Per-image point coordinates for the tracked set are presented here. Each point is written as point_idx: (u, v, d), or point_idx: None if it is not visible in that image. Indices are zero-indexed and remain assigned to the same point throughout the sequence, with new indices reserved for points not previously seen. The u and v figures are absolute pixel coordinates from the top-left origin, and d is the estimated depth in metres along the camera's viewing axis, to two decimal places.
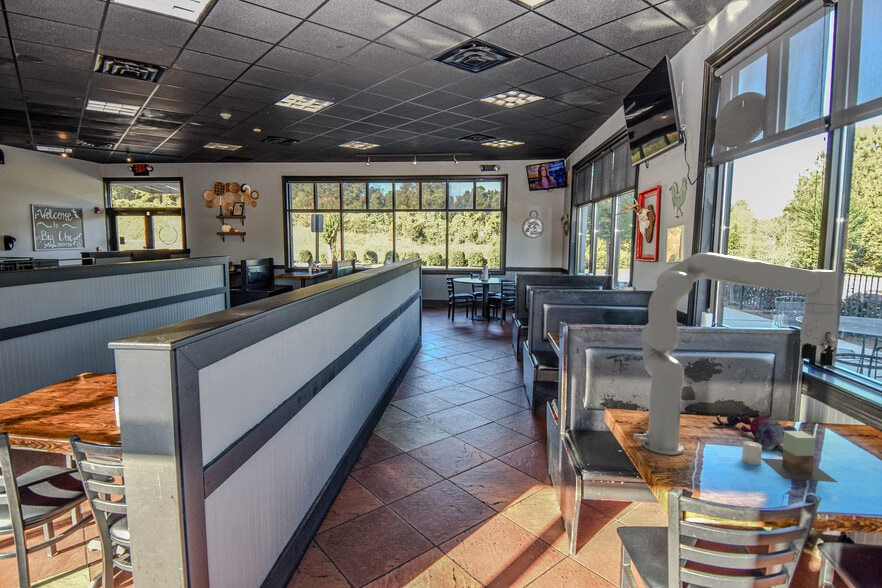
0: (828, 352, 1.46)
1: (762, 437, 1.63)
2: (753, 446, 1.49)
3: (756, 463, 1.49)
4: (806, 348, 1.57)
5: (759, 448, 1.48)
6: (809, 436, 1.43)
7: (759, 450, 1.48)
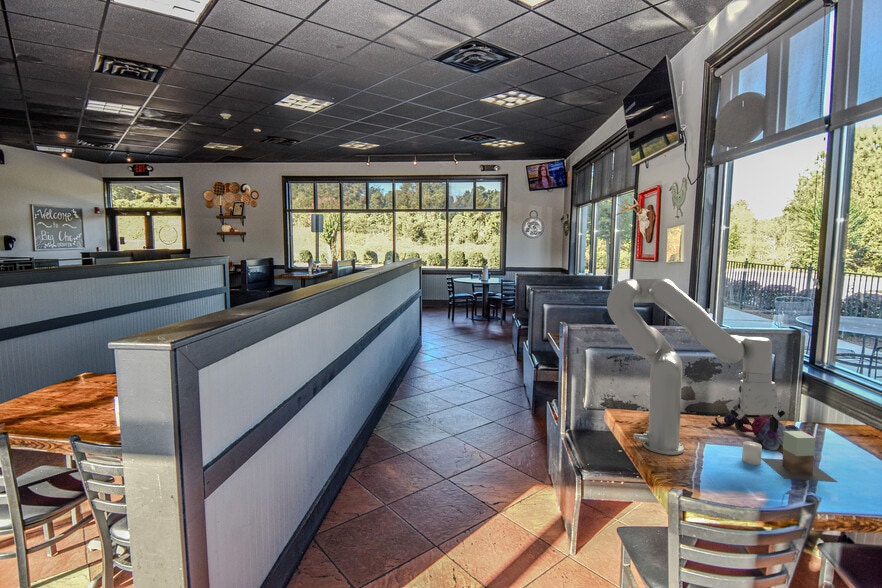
0: None
1: (766, 437, 1.63)
2: (753, 446, 1.49)
3: (756, 463, 1.49)
4: None
5: (759, 448, 1.48)
6: (809, 436, 1.43)
7: (759, 450, 1.48)
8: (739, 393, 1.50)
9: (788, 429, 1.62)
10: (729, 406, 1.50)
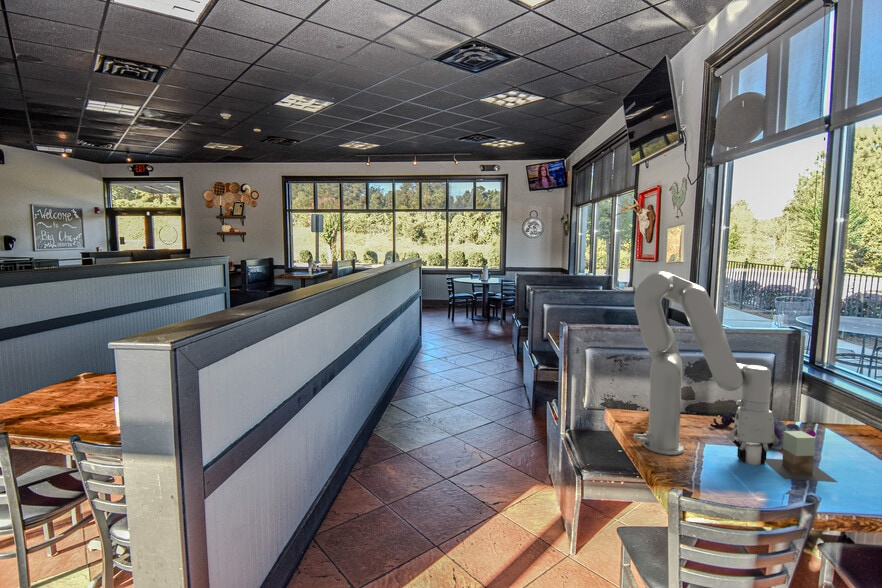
0: None
1: None
2: (753, 446, 1.49)
3: (756, 463, 1.49)
4: None
5: (759, 448, 1.48)
6: (809, 436, 1.43)
7: (759, 450, 1.48)
8: (736, 420, 1.51)
9: (789, 428, 1.64)
10: (730, 438, 1.51)
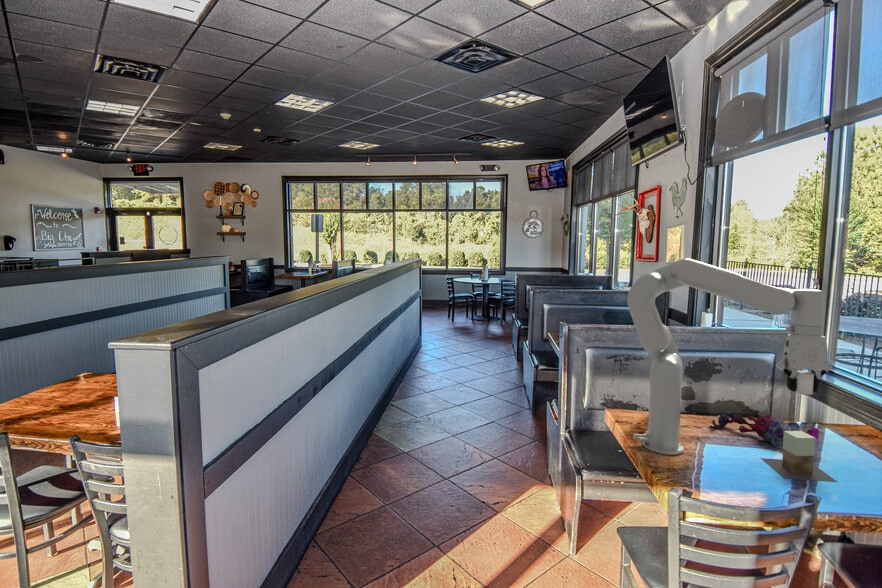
0: None
1: (774, 436, 1.63)
2: (805, 373, 1.41)
3: (808, 391, 1.41)
4: None
5: (811, 375, 1.40)
6: (809, 436, 1.43)
7: (811, 377, 1.41)
8: (786, 347, 1.43)
9: (790, 426, 1.65)
10: (780, 366, 1.43)
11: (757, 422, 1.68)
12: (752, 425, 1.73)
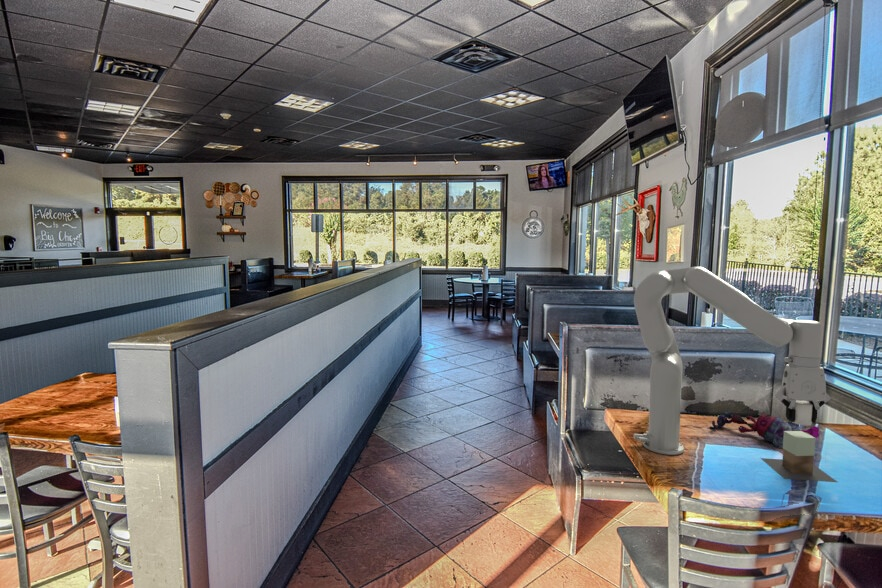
0: None
1: (775, 436, 1.64)
2: (803, 404, 1.42)
3: (807, 422, 1.41)
4: None
5: (810, 406, 1.41)
6: (809, 436, 1.43)
7: (810, 408, 1.41)
8: (784, 378, 1.44)
9: (789, 425, 1.66)
10: (778, 397, 1.44)
11: (758, 422, 1.68)
12: (751, 425, 1.73)
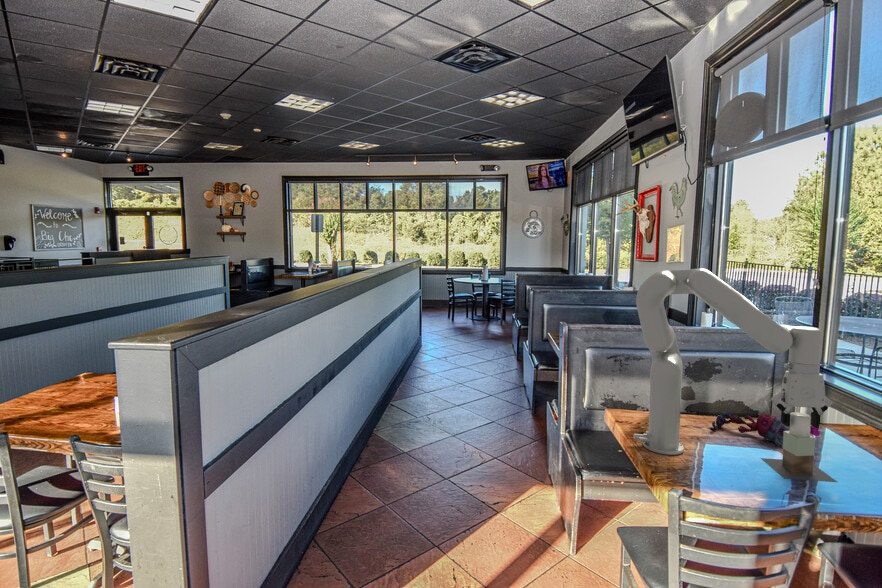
0: None
1: (777, 436, 1.64)
2: (802, 416, 1.42)
3: (805, 434, 1.42)
4: None
5: (808, 418, 1.42)
6: None
7: (808, 421, 1.42)
8: (784, 384, 1.44)
9: None
10: (775, 400, 1.44)
11: (759, 422, 1.68)
12: (751, 425, 1.74)
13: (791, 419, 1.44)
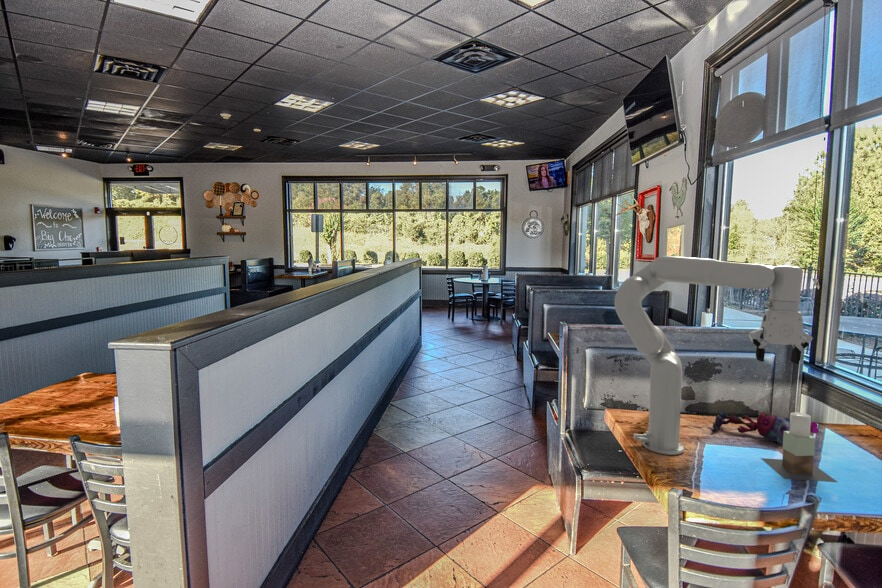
0: None
1: (779, 435, 1.65)
2: (802, 416, 1.42)
3: (805, 434, 1.42)
4: None
5: (808, 418, 1.42)
6: None
7: (808, 421, 1.42)
8: (763, 322, 1.46)
9: None
10: (752, 335, 1.47)
11: (760, 421, 1.68)
12: (750, 424, 1.74)
13: (791, 419, 1.44)
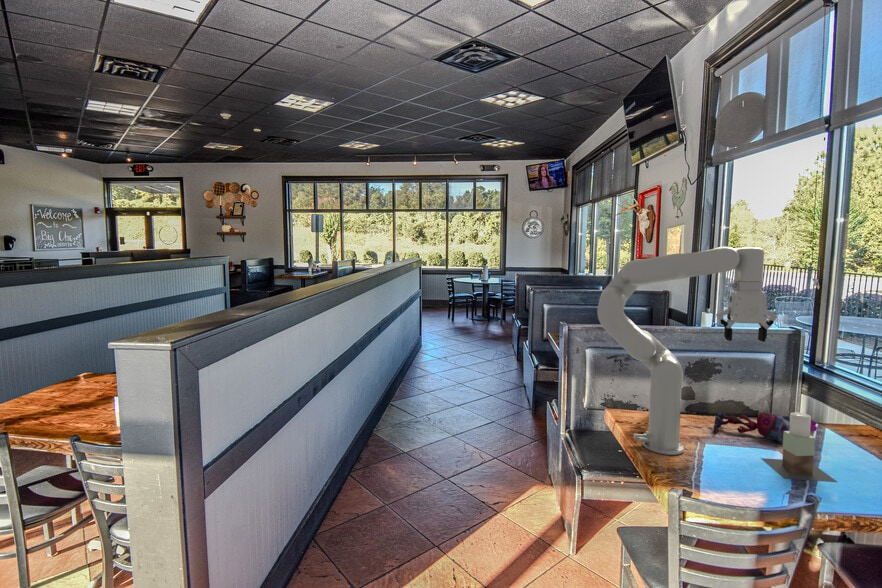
0: None
1: (779, 434, 1.66)
2: (802, 416, 1.42)
3: (805, 434, 1.42)
4: None
5: (808, 418, 1.42)
6: None
7: (808, 421, 1.42)
8: (729, 303, 1.52)
9: None
10: (719, 315, 1.52)
11: (761, 421, 1.69)
12: (749, 424, 1.74)
13: (791, 419, 1.44)
